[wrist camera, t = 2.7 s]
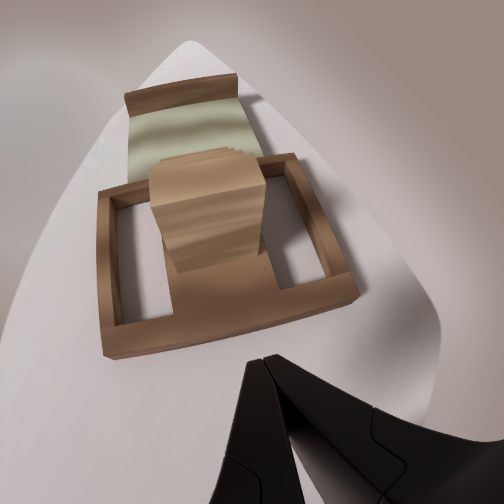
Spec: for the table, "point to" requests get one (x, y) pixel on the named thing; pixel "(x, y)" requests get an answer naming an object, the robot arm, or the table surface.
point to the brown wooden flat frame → (219, 276)
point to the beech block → (208, 206)
